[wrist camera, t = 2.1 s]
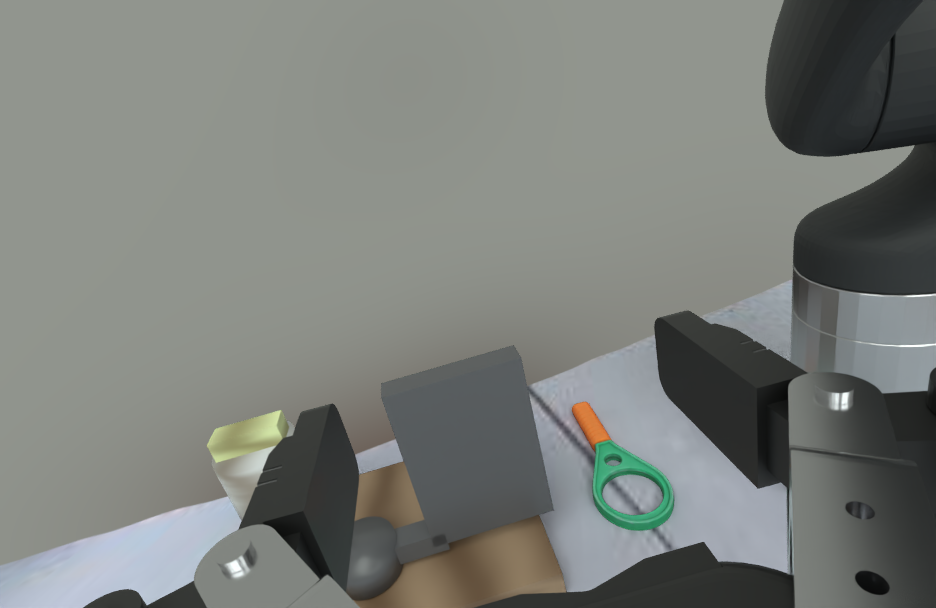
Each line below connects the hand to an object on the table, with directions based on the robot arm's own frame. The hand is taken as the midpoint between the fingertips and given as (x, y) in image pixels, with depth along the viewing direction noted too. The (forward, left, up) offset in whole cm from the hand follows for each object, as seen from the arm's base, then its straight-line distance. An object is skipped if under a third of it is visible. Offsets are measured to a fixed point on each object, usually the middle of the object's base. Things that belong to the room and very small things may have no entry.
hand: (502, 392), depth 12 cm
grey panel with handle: (+5, -18, -23) cm, 29 cm away
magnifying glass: (-10, -23, -26) cm, 36 cm away
